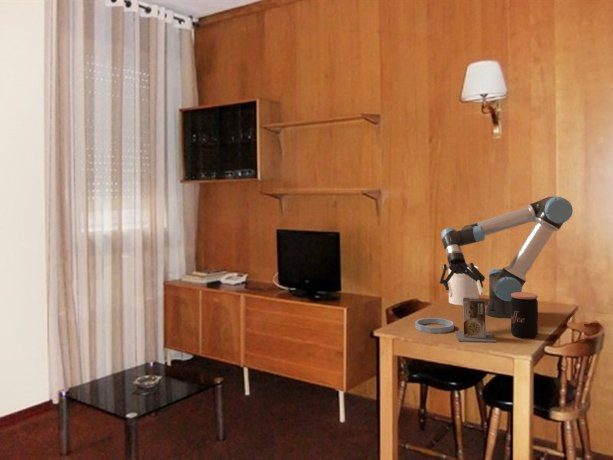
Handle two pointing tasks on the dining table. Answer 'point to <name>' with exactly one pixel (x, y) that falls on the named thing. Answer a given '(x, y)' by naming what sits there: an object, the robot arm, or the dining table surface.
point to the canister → (462, 288)
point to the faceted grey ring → (434, 329)
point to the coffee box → (474, 317)
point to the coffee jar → (524, 315)
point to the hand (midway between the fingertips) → (466, 294)
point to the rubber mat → (467, 339)
